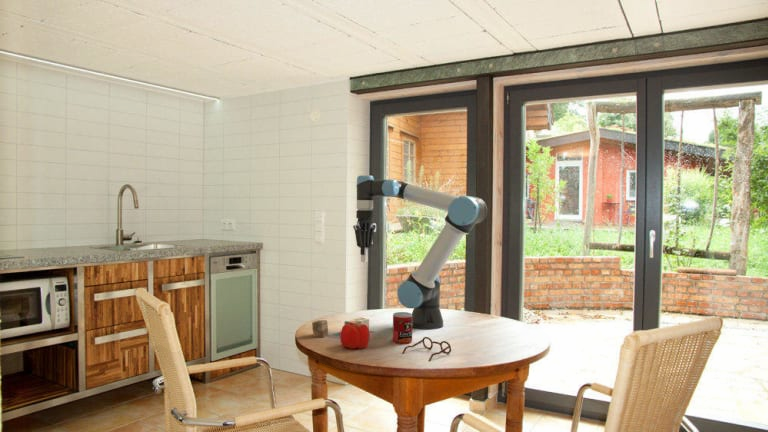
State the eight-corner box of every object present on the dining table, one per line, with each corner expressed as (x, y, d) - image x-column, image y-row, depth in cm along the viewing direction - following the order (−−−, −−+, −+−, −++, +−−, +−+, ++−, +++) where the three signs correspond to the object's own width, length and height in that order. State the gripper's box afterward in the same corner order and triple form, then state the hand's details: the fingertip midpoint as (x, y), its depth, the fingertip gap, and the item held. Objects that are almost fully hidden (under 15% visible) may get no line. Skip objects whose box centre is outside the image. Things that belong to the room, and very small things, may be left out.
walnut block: (328, 334, 212) (327, 320, 213) (323, 337, 208) (321, 322, 208) (318, 334, 214) (317, 320, 214) (313, 337, 210) (312, 322, 210)
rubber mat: (375, 332, 219) (375, 331, 219) (344, 341, 204) (344, 340, 204) (355, 328, 226) (355, 327, 226) (324, 336, 211) (324, 335, 211)
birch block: (353, 335, 213) (369, 330, 220) (353, 323, 212) (369, 319, 220) (344, 333, 216) (360, 328, 223) (344, 321, 216) (360, 317, 223)
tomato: (333, 348, 194) (334, 324, 194) (355, 342, 203) (356, 319, 203) (354, 353, 187) (354, 328, 187) (376, 347, 196) (376, 323, 196)
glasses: (451, 355, 188) (451, 341, 188) (429, 363, 178) (429, 348, 178) (423, 348, 197) (423, 335, 197) (400, 355, 187) (400, 341, 187)
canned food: (398, 345, 199) (399, 316, 199) (389, 340, 206) (389, 312, 206) (415, 342, 203) (416, 315, 203) (405, 338, 210) (406, 311, 210)
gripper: (367, 209, 240) (367, 260, 240) (348, 209, 230) (348, 262, 230) (380, 209, 235) (379, 261, 236) (361, 209, 225) (360, 263, 226)
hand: (364, 262), depth 233 cm, fingers closed
